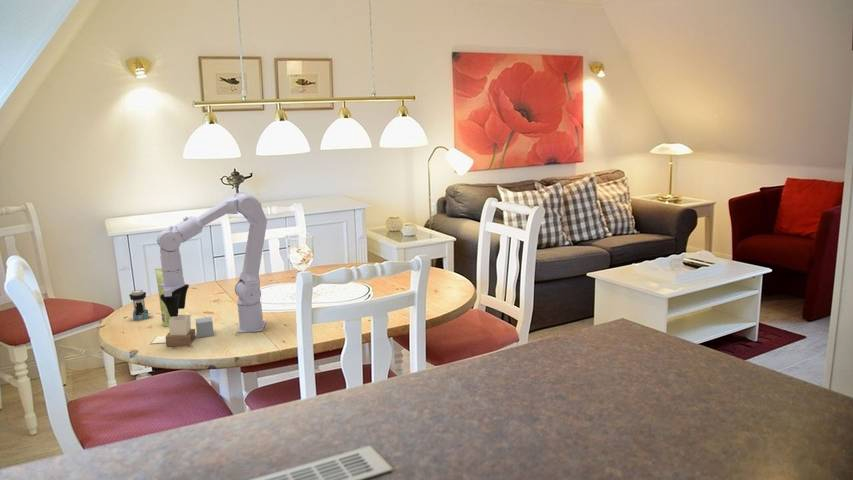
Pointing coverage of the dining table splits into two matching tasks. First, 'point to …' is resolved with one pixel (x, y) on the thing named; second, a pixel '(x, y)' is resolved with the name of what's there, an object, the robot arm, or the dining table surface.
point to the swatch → (159, 340)
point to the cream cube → (179, 325)
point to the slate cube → (204, 327)
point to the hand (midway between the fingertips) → (177, 312)
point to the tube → (161, 291)
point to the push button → (139, 305)
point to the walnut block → (180, 339)
